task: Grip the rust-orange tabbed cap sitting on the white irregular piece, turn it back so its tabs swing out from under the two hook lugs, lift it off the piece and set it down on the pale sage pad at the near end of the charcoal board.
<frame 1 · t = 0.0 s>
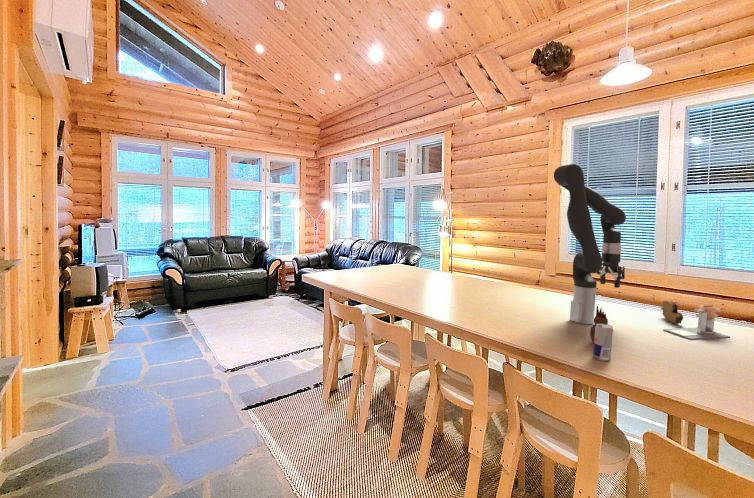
hand: (609, 285, 176), 17 cm above the table, tool pointing down, fingers open, 8 cm apart
cap: (707, 316, 160), point 8 cm above the table, touching white irregular piece
board: (695, 334, 160), on the table
wooden figurine: (598, 344, 146), on the table
wooden carving: (671, 321, 178), on the table
energy drink: (601, 358, 131), on the table
white irregular piece: (705, 333, 160), resting on board
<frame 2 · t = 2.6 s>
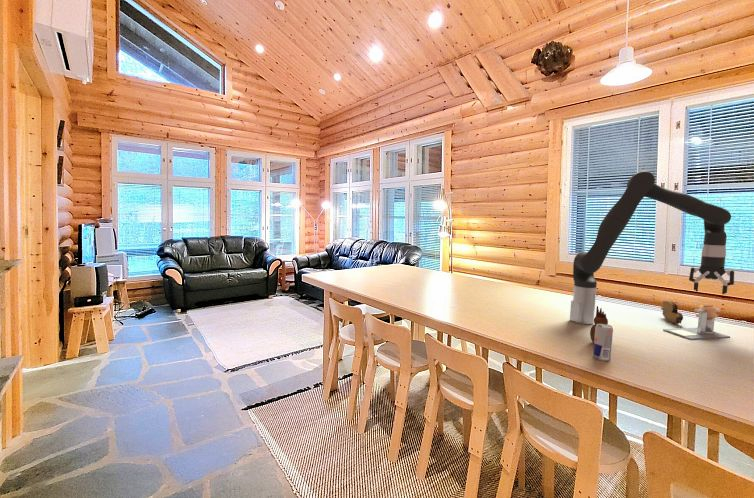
hand: (709, 292, 159), 18 cm above the table, tool pointing down, fingers open, 8 cm apart
nothing on the table moved.
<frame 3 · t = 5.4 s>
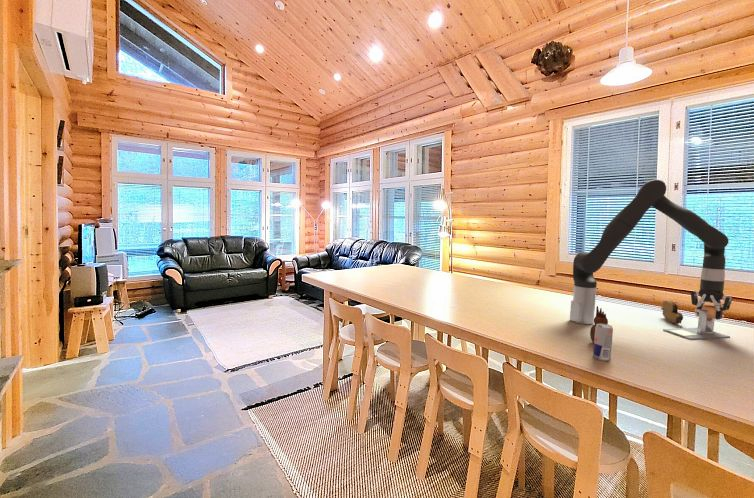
hand: (708, 317, 159), 8 cm above the table, tool pointing down, fingers open, 5 cm apart
cap: (709, 316, 158), point 8 cm above the table, touching gripper, white irregular piece
everything else where it was.
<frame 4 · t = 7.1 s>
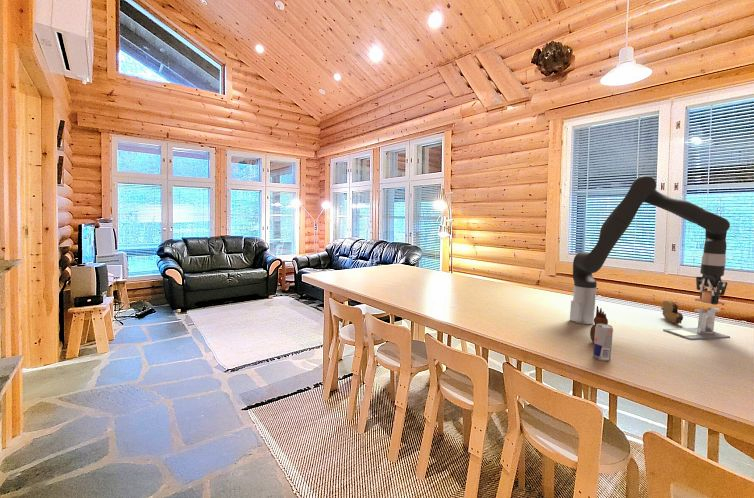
hand: (708, 302, 159), 14 cm above the table, tool pointing down, fingers closed on cap, 5 cm apart
cap: (709, 302, 159), point 14 cm above the table, touching gripper
everything else where it was.
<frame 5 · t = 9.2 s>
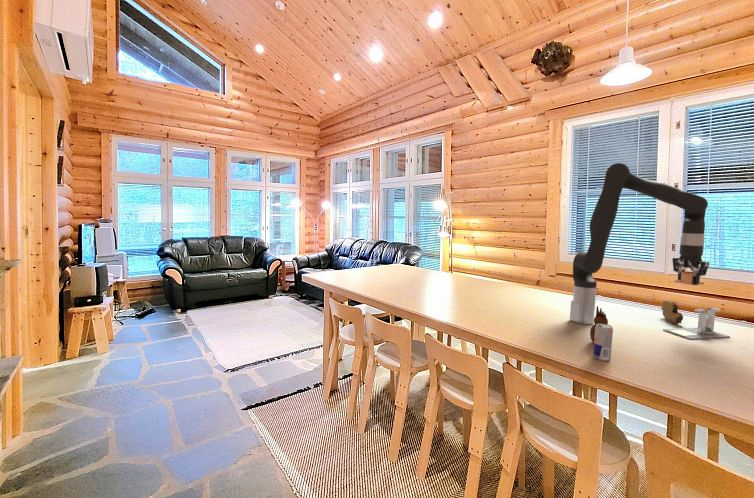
hand: (687, 283, 156), 22 cm above the table, tool pointing down, fingers closed on cap, 5 cm apart
cap: (688, 283, 156), point 22 cm above the table, touching gripper
everything else where it was.
when the fingers open (2 cm above the table, at t = 12.3 s): cap drops 1 cm, resting on board.
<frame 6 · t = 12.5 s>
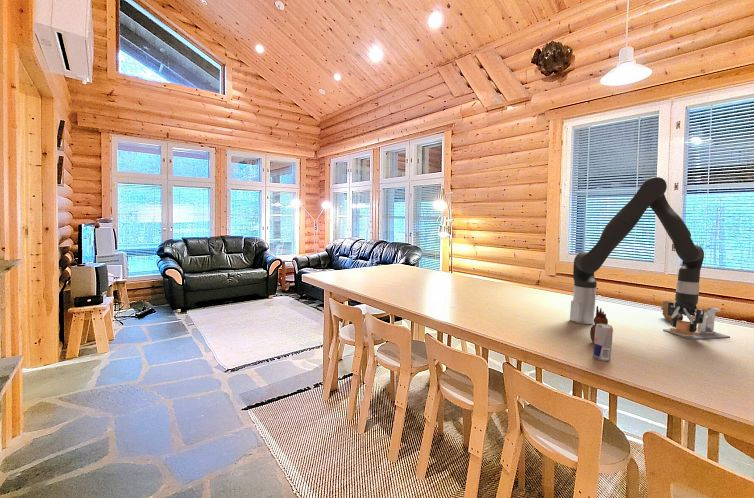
hand: (683, 329, 158), 2 cm above the table, tool pointing down, fingers open, 7 cm apart
cap: (683, 332, 158), point 1 cm above the table, touching board
everything else where it was.
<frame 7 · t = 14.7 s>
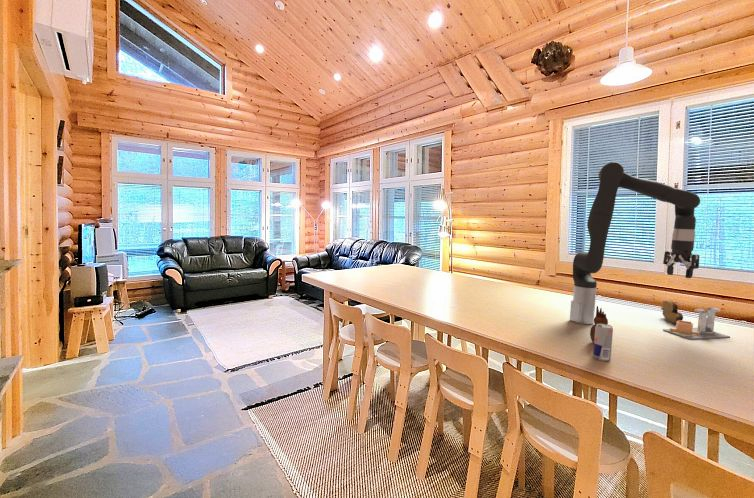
hand: (678, 276, 161), 25 cm above the table, tool pointing down, fingers open, 8 cm apart
nothing on the table moved.
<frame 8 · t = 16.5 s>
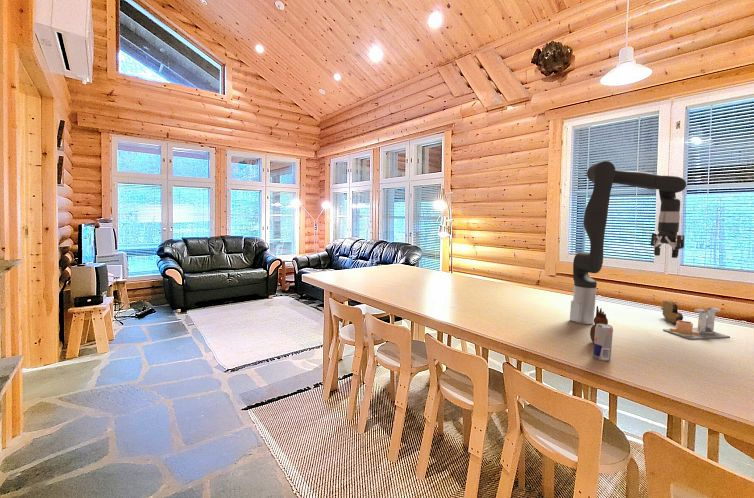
hand: (665, 256, 170), 32 cm above the table, tool pointing down, fingers open, 8 cm apart
nothing on the table moved.
at the end: cap inside the target area (0.4 cm from its centre), point 0.9 cm above the table; cap touching board; cap tilted 1° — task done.
